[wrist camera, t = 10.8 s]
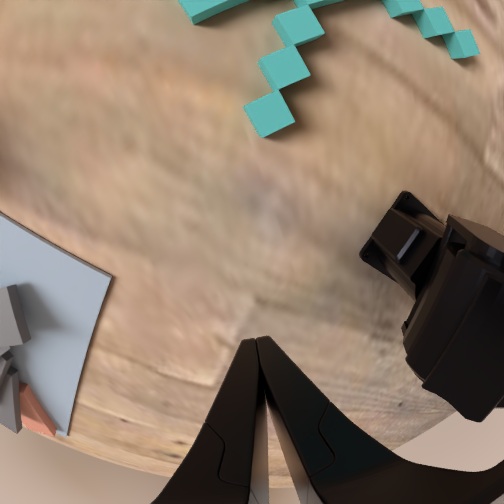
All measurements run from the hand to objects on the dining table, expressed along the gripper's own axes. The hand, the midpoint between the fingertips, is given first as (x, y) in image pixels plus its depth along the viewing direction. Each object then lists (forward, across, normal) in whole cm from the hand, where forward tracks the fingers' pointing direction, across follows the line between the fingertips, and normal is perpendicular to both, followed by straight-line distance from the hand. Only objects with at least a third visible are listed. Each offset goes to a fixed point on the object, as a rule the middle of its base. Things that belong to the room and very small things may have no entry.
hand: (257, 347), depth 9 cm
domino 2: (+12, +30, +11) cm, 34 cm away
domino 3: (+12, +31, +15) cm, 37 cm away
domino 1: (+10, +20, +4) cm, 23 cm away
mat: (+13, +27, +11) cm, 31 cm away
